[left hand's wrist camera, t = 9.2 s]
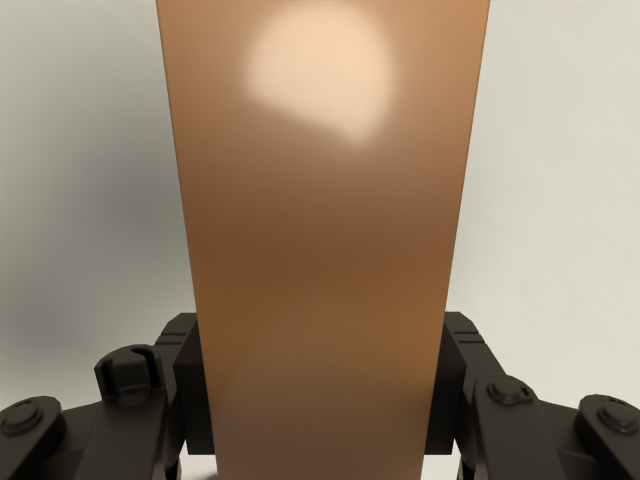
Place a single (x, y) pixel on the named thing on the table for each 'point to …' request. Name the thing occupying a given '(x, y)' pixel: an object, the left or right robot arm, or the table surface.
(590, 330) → the table surface
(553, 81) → the table surface
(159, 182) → the table surface
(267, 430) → the post
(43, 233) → the table surface
